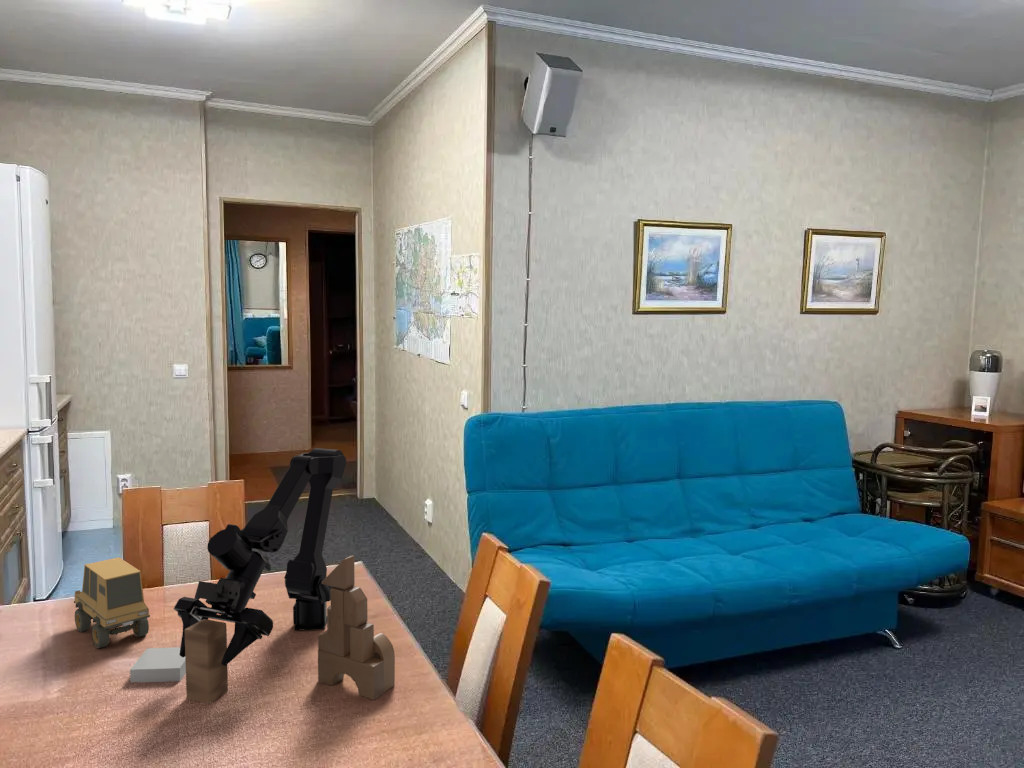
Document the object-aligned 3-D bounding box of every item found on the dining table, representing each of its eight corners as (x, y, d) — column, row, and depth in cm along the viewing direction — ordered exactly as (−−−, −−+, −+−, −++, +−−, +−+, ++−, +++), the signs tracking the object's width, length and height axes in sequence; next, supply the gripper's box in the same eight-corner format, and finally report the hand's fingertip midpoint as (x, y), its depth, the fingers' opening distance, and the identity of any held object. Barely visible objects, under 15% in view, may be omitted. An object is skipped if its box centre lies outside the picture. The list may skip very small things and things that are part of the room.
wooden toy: (397, 685, 148) (397, 556, 145) (373, 700, 142) (373, 567, 139) (335, 665, 156) (334, 542, 153) (311, 678, 150) (309, 551, 147)
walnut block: (205, 685, 147) (204, 618, 145) (228, 690, 145) (226, 622, 143) (186, 698, 142) (184, 629, 140) (209, 703, 140) (207, 633, 139)
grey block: (194, 661, 157) (194, 646, 157) (180, 683, 148) (180, 668, 148) (147, 662, 156) (147, 648, 156) (130, 684, 147) (130, 669, 147)
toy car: (120, 614, 179) (118, 550, 177) (154, 640, 166) (152, 571, 164) (71, 627, 172) (68, 560, 170) (102, 655, 158) (99, 583, 157)
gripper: (179, 555, 148) (135, 634, 139) (262, 567, 142) (222, 651, 132) (209, 582, 156) (169, 658, 147) (289, 595, 150) (253, 675, 141)
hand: (202, 660), depth 142 cm, fingers open, 9 cm apart
